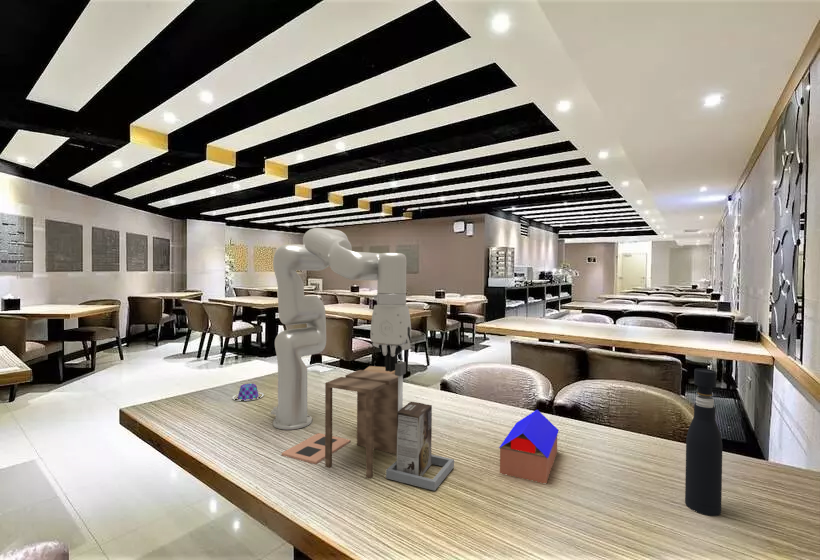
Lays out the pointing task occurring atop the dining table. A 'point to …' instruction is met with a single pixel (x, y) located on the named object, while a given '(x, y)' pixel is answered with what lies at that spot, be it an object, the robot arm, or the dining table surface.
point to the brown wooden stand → (367, 413)
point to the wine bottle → (704, 450)
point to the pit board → (314, 448)
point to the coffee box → (414, 438)
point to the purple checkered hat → (248, 392)
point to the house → (530, 448)
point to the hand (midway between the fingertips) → (391, 370)
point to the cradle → (437, 460)
